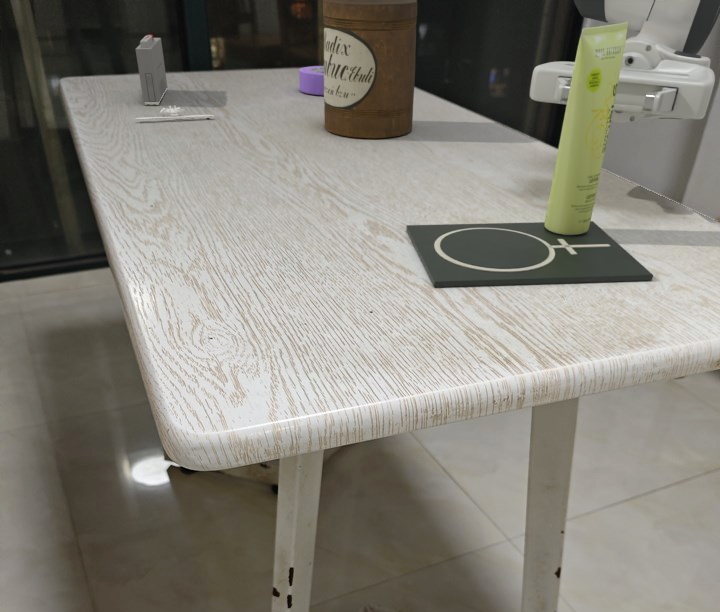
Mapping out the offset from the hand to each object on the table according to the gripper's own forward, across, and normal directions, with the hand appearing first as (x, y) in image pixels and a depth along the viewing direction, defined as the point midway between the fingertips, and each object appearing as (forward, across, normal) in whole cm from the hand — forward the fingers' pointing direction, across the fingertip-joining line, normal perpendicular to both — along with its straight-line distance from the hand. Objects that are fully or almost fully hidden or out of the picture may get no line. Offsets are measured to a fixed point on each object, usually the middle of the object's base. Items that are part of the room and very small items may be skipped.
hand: (606, 99), depth 77 cm
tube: (+7, 0, +12) cm, 14 cm away
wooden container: (-28, -43, +13) cm, 52 cm away
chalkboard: (+16, -3, +13) cm, 20 cm away
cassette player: (-30, -90, +13) cm, 95 cm away
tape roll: (-54, -65, +13) cm, 85 cm away
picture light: (-17, -75, +13) cm, 78 cm away
